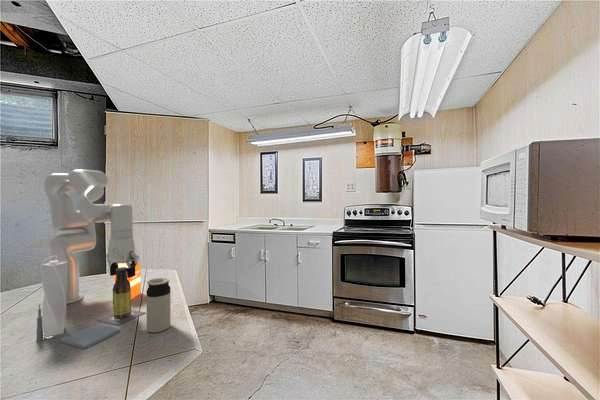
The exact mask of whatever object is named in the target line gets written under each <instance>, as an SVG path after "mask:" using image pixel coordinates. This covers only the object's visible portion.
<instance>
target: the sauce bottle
mask: <svg viewBox="0 0 600 400" xmlns="http://www.w3.org/2000/svg"><path fill="white" fill-rule="evenodd" d="M115 272H116V281H115V284H114V283H113V286H112V287H113V288H112V314H114V318H125V317H127V316H129V315H130V314H131V310H132V299H131V289H130V282H129V281H128V279H127V267H121V268H117V269H116V271H115Z"/></svg>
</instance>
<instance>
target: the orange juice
mask: <svg viewBox="0 0 600 400" xmlns="http://www.w3.org/2000/svg"><path fill="white" fill-rule="evenodd" d="M117 264H118V268H121V267H127V268H128V266H127V264H126V263H117ZM130 264H131V262H130ZM113 277H114V278H113V279H114V280H113V285H114V284H115V281H116V275H113ZM127 279H128V281H129V282H130V289H131V300H132V299H134V298H135V297H136V296H139V295H140V294H141V279H142V278H141V263H140V262H138V263H137V264H136V266H135V276H134V277H130V278H127Z"/></svg>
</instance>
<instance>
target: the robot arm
mask: <svg viewBox="0 0 600 400" xmlns="http://www.w3.org/2000/svg"><path fill="white" fill-rule="evenodd" d="M108 181H109V180H108V176H107V174H105V172H103V171H101V170H94V169H93V170H92V169H81V168H80V169H74V170H72V171H70V172H69V173H67V172H66V173H62V172H61V173H59V172H58V173H57V172H56V173H51V174H49V175H47V176H46V177H45V179H44V183H43V184H44V185H43V187H44V190H45V194H46V196H47V198H48V200H49V205H50V216H51V218H50V219H51V224H52V228H53V230H55V231H57V232H68V233H61V234H58V235H55V236H52V237H51V239H50V240H49V244H48V245H49V249H50V253H51V256H53V255H57V256H58V257H57V260H59V262H61V261H66V260H67V261H68V265H67V273H66V279H65V284H64V292H65V297H66V305H68V304H72V303H76V302H78V301H80V300H82V299H84V294H83V293H80V262H79V259H78V258H77V256H76V255H74V254H77V253H79V252H80V253H81V252H87V251H90V250H94V249H95V248H96V245H97V234H96V224H95V223H97V224H98V223H106V222H107V223H110V238H109V240H108V252H107V254H106V259H107V263H108V266H109V276H110V277H114V275H116V272H115V271H116V269H117V268H118V263H126V264H127V266H128V268H127V278H130V277H134V276H135V266H136V264H137V263H139V259H140V256H139V255H138V254H136V247H135V241H134V235H133V233H134V232H133V231H134V229H133V206H132V205H131V204H127V203H125V204H123V203H121V204H120V203H94V202H96V201H98V200H99V199H101V198H102V197H103V196H104V193H105V189H104V188H105V187H106V186H107V185H108ZM68 192H72V193H73V192H74V193H78V194H79V196H78V197H79V198H78V199H77V209H78V210H76V209H75V202H74V200H73V197H71V196H70V195H69V194H68ZM69 231H80V232H71V233H69ZM55 258H56V257H51V261H54V260H55ZM130 262H131V264H130Z"/></svg>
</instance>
